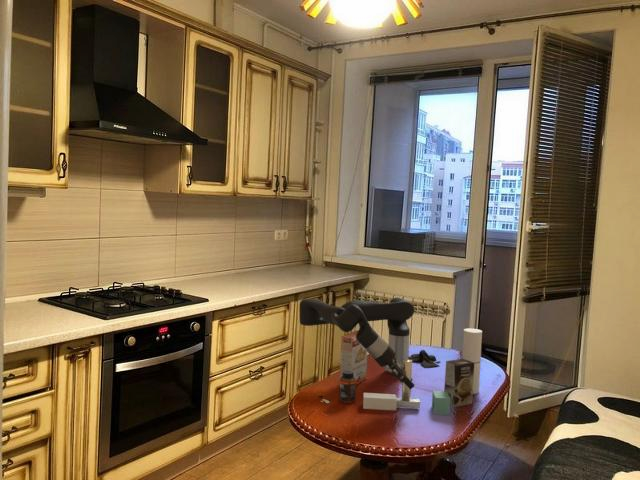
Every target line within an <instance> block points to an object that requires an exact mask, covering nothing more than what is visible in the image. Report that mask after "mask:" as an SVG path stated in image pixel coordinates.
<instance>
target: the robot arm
mask: <svg viewBox="0 0 640 480" xmlns="http://www.w3.org/2000/svg"><path fill="white" fill-rule="evenodd" d="M298 312H299V313H298V314H299V324H300V325H301V326H305V327H307V326H308V327H310V326H312V327H313V326H321V325H334V326H336V327H337V328H339V329H340V330H341V331H342V332H344V333H351V332H352V331H353V329H354V328H355V327H357V326H359V328H358V329H359V331H358V333H357V335H356V339H357V340H358V342H359V343H360V344H361V345H362V346H363V347H364V348H365V349H366V350H367V354H369V356H371V357H372V359H373V360H374V361H375V362H376V363H377V365H379V366H380V367H382V368H384V367H385V371H386V372H387V373H389V374H392V375H394V376H395V377H396V378H397V379H398V380H399V382H400V383H403V382H404V383H405V384H406V385H407V387H408V388H409V389H411V390H412V389H414V387H415V383H414V382H413V378H412V377H411V381H410V379H409V378H408V377H407V376H406V375H405V374H404V370H403V360H405V359H408V358H409V357H410V356H409V354H410V333H411V332H410V327H409V325H408V322H407V321H408V320H410V319H411V318H412V317H413V315H414V314H415V307H414V305H413V304H412V303H411V302H410V301H409V300H407V299H406V298H405V299H404V298H401V297H394V298H392V299H391V300H390V301H389V302H377V301H376V302H375V301H370V300H351V301H347V302H345V303H343V304H342V305H341V306H335V305H331V304H328V303H326V302H325V301H322V300H319V299H316V298H305V299H302V300H301V301H299V311H298ZM375 321H387V322H386V323H387V328H388V329H387V330H388V343H387V341H386V340H385V339H384V338H382V337H381V336H380V335H379V334H378V333H377V331H376V330H374V329H373V327H372V326H371V324H370V322H375Z"/></svg>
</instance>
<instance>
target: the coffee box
mask: <svg viewBox="0 0 640 480" xmlns="http://www.w3.org/2000/svg"><path fill="white" fill-rule="evenodd" d="M473 378H474V363H473V362H471V361H468V360H465V359H462V358H460V359H451V360H450V359H449V360H446V361H445V373H444V388H443V389H444V390H443V391H446V392H447V393H448V395H449V397H450V407H453V408H456V407H462V406H468V405H472V404H473V395H474V394H473Z"/></svg>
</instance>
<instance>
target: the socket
mask: <svg viewBox="0 0 640 480" xmlns="http://www.w3.org/2000/svg"><path fill="white" fill-rule="evenodd" d="M431 398H432V399H431V408H432V410H433V413H434V414H435V415H444V416H445V415H446V416H447V415H450V407H451V405H450V397H449V395H448V393H447V392H446V391H444V390H443V391H442V390H441V391H440V390H439V391H438V390H432V397H431Z"/></svg>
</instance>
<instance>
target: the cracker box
mask: <svg viewBox="0 0 640 480" xmlns="http://www.w3.org/2000/svg"><path fill="white" fill-rule="evenodd" d="M358 331H359V330H358V329H356V330H355V331H351V332H348V334H347V333H346V334H344V335H341V342H340V359H339V360H340V363H339V364H340V365H339V379H340V378H341V377H342V376H343V371H346V370H350V371H353V377H355V379H356V386H357V385H359V384H360V382H361V383H363V382H364V381H366V380H367V367H368V352H367V350H366V349H365V348H364V347H363V346H362V345H361V344H360V343H359V342H358V340H357V339H356V335H357V333H358ZM365 379H366V380H365ZM363 380H364V381H363ZM338 382H339V386H340V380H339V381H338Z"/></svg>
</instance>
